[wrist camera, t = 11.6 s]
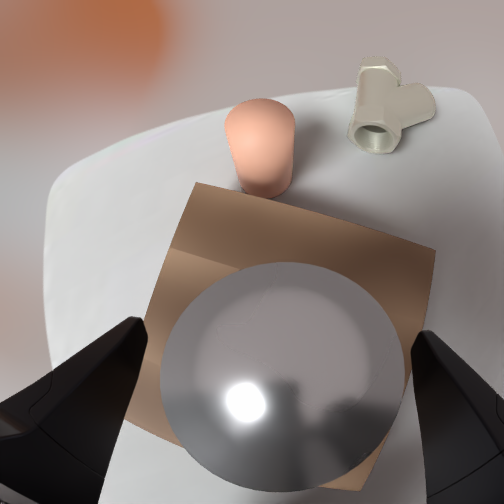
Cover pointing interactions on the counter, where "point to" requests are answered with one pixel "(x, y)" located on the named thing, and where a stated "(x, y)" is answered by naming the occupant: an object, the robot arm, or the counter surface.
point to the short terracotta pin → (262, 146)
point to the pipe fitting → (386, 106)
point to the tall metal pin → (282, 377)
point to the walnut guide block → (270, 251)
